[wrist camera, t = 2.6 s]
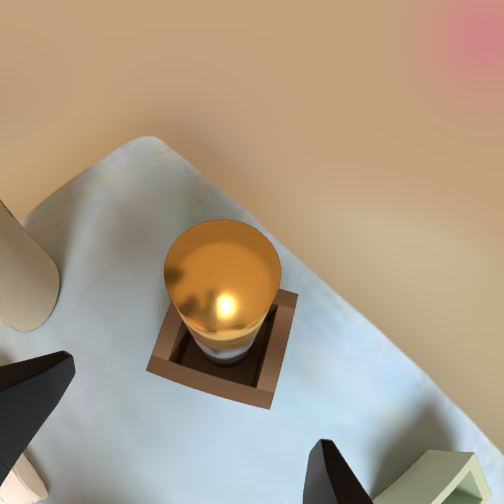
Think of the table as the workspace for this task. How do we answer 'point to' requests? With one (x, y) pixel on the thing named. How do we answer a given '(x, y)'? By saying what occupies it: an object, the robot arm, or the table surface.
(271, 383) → the brown square open box
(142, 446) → the table surface
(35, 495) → the knuckle duster
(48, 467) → the table surface
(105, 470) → the table surface
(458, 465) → the cream square hollow block
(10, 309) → the travel mug
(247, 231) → the gold and grey cylinder
